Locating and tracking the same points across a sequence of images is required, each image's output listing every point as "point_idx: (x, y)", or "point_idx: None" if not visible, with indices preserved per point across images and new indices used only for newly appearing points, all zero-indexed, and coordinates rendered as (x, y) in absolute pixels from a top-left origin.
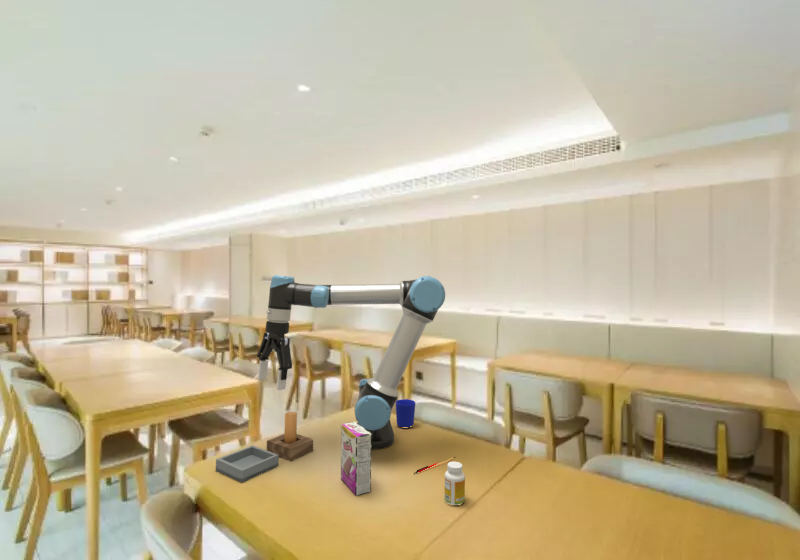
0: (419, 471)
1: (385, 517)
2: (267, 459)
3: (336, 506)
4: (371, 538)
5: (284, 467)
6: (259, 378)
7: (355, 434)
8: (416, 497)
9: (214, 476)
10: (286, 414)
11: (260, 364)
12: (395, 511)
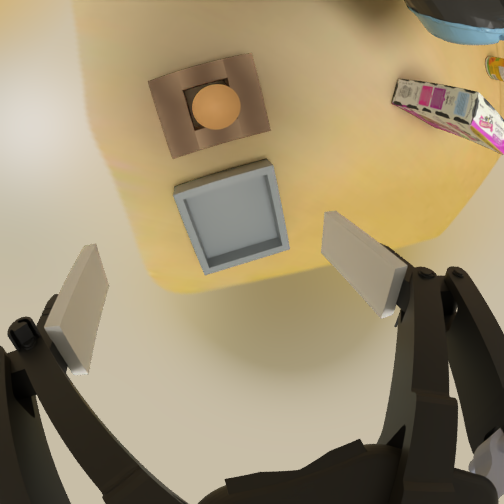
0: None
1: None
2: (278, 194)
3: (429, 161)
4: (472, 174)
5: (280, 151)
6: (106, 287)
7: (500, 149)
8: (471, 82)
9: None
10: (214, 124)
11: (91, 354)
12: None
